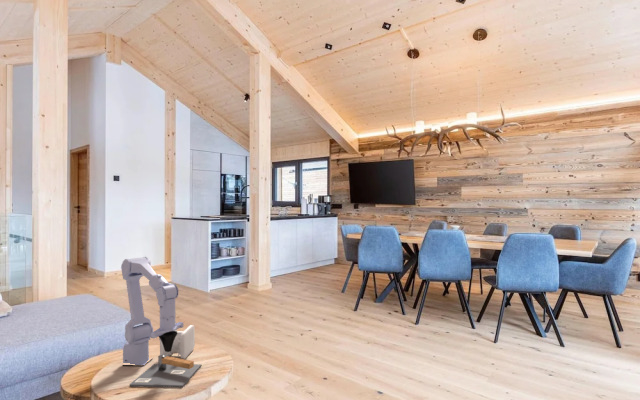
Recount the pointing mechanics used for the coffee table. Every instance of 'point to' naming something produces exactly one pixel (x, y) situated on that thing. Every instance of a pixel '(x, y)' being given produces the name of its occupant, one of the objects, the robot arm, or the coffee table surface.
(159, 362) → the bar
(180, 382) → the panel
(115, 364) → the coffee table surface
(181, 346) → the white notched block
